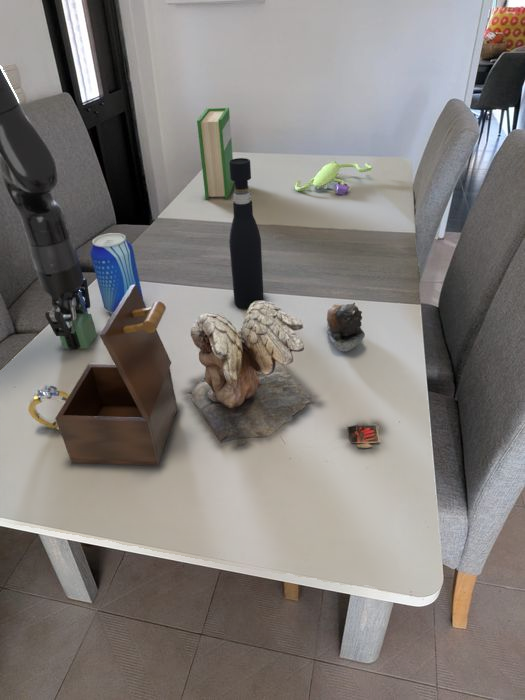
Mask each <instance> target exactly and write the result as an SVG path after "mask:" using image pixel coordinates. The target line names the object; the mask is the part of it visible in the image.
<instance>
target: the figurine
mask: <svg viewBox="0 0 525 700" xmlns="http://www.w3.org/2000/svg"><path fill="white" fill-rule="evenodd" d="M364 166H365V167H366V168H362V167H360V165H359V164H358V163H351V162H347V163H337V161H335V160H333V161H331V162H329V163H328V164H325V165H324V166H323V167H322V168H321V169H320V170H319V171H318V172H317V174H316V175H315V176H314V177H312V178H311V179H310V180H309V181H307V182H306V184H305V185H302V186H300V185H301V183H302V181H301V180H297V182H296V184H295V186H294V187H295V191H296V192H302V191H304V190H306V189H309V188H310V187H311V186H312V185H313V186H314V187H315V189H320V188H323V189H324V190H327V189H328V187H329V185H328V184H330V183H331V182H334V183H336V185H335V187H334V188H333V190H334V192H335V194H337V195H345V194H346V193H347V192H348V190H349V189H350V186H349V185H348V183H346V182H345V180H342V179H339V178H336V177H337V175H338V174H339V171H340V169H341V168H356V169H357V171H358V172H359V173H366V172H370V171H371V170H372V169H373V165H370V164H369V163H364Z"/></svg>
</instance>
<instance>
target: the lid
mask: <svg viewBox="0 0 525 700" xmlns="http://www.w3.org/2000/svg"><path fill="white" fill-rule="evenodd" d="M166 309H167V308H166V305H165V303H163V302H162V301H158V300H157V301H155V302H153V303H152V305H151V306H149V307H147V305H146V303H145V301H144V298H143V299H142V297H141V295H140V292H139V290H138V288H137V286H136V284H134V285H131V286H130V287H129V289H128V290H127V292H126V294H125V295H124V297H123V298H122V300H121V302H120V303H119V305H118V306H117V308H116V310H115V311H114V313H113V314H111V316H110V318H109V319H108V321H107V322H106V324H105V325H104V326H103V329H102V330H101V332H100V334H99V337H100V339H101V341H102V342H103V345H104V347H105V348H106V350H107V352H108V354H109V356H110V358H111V360H112V362H113V364H114V365H116V367H117V369H118V371H119V373H120V375H121V377H122V379H123V380H124V382H125V384H126V386H127V388H128V390H129V392H130V394H131V395H132V397H133V399H134V401H135V403H136V405H137V407H138V409H139V411H140V412H141V414H142V416H143V418H144V419H150V416H151V413H152V411H153V408H154V406H155V403H156V401H157V398H158V396H159V393H160V391H161V388H162V385H163V383H164V380H165V378H166V375H167V373H168V370H169V368H170V369H171V365H172V361H171V359H170V356H169V354H168V352H167V350H166V347H165V345H164V343H163V341H162V339H161V337H160V334H159V332H158V330H157V329H158V326H159V325H160V322H161V321H162V318H163V316H164V314H165V312H166Z"/></svg>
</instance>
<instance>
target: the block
mask: <svg viewBox="0 0 525 700" xmlns="http://www.w3.org/2000/svg"><path fill="white" fill-rule="evenodd" d="M64 317H71V315H64ZM76 318H77V319H76V321H75V322H74V323H75V332H76V334H77V337H78V340H79V343H80V347H79V349H81V350H82V349H83V350H88V349H89V348H90V347H91V345H92V343H93V342H94V340H95V338H96V337H97V335H98V334H97V330H96V327H95V323H94V322H95V321H94V319H93V314H92V313H88V314H77V313H76ZM66 323H67V325H68V327H70V326H69V322H66ZM59 329H60V328H59ZM59 339H60V341H61V342H60V343H61V345H62V348H63V349H69V348H68V346H67V343H66V340H65V337H64V336H59ZM79 349H78V350H79Z"/></svg>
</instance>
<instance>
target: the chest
mask: <svg viewBox="0 0 525 700" xmlns="http://www.w3.org/2000/svg"><path fill="white" fill-rule="evenodd" d="M68 395H69V397H68V398H67V400H66V402H65V403H63V405H62V406H61V408H60V410H59V411H58V413H57V415H56V417H55V422H57V424H58V427H59V430H58V431H59V432H60V436H61V438H62V440H63V443H64V446H65V449H66V451H67V453H68V456H69V459H70V462H71V463H76V464H77V463H78V464H98V465H99V464H101V465H103V464H104V465H125V466H127V465H128V466H148V467H151V466H152V467H154V466H155V467H158V466H159V463H160V460H161V457H162V455H163V452H164V448H165V446H166V443H167V440H168V437H169V434H170V431H171V428H172V425H173V422H174V419H175V417H176V413H177V411H178V403H177V399H176V393H175V388H174V382H173V378H172V372H171V367H170V368H169V370H168V373H167V375H166V378H165V380H164V383H163V385H162V388H161V391H160V393H159V396H158V398H157V401H156V403H155V406H154V408H153V411H152V413H151V416H150V419H144V418H143V416H142V414H141V412H140V411H139V409H138V407H137V405H136V403H135V401H134V399H133V397H132V395H131V394H130V392H129V390H128V388H127V386H126V384H125V382H124V380H123V379H122V377H121V375H120V373H119V371H118V369H117V367H116V365H115V364H114V363H113V364H111V363H110V364H109V363H108V364H107V363H106V364H105V363H88V364H87V366H86V368H85V369H84V370H83V372H82V373H81V375H80V377H79V379H78V380H77V382H76V384H75V385H74V387H73V388H72V390H71V392H70V393H69V394H68Z"/></svg>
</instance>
